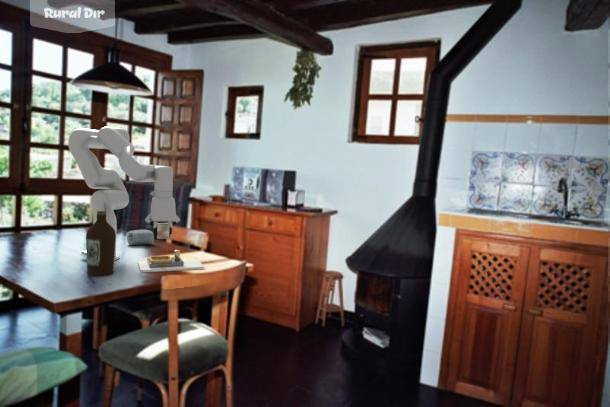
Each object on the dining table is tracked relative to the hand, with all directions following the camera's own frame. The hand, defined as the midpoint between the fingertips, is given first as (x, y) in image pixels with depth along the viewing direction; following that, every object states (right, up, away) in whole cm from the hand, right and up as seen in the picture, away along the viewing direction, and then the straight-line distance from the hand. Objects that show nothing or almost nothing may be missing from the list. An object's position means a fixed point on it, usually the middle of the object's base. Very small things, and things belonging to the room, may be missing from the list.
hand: (162, 236), depth 183 cm
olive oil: (-20, -14, -15) cm, 28 cm away
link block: (0, -1, 0) cm, 1 cm away
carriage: (+1, -12, +2) cm, 12 cm away
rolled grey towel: (-27, -8, +44) cm, 52 cm away
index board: (+3, -13, +3) cm, 14 cm away
